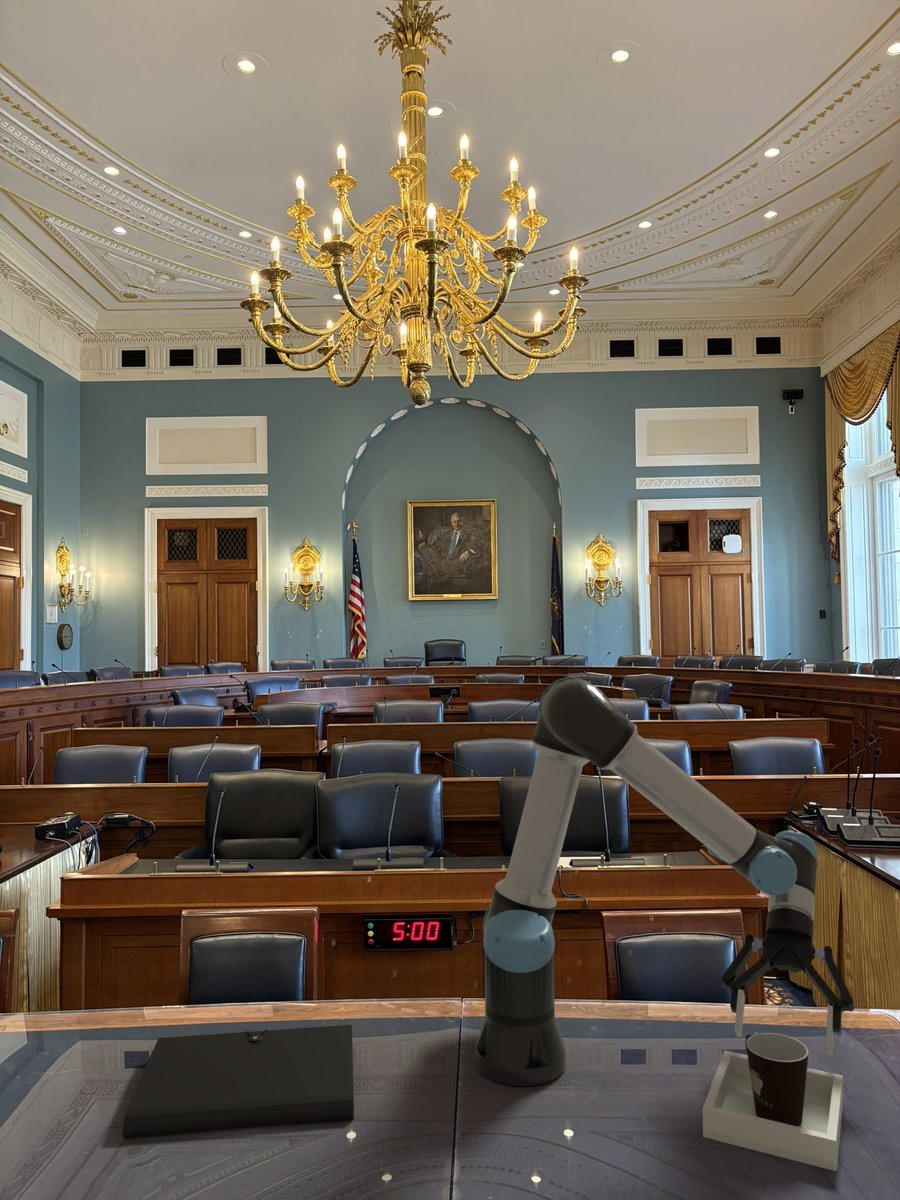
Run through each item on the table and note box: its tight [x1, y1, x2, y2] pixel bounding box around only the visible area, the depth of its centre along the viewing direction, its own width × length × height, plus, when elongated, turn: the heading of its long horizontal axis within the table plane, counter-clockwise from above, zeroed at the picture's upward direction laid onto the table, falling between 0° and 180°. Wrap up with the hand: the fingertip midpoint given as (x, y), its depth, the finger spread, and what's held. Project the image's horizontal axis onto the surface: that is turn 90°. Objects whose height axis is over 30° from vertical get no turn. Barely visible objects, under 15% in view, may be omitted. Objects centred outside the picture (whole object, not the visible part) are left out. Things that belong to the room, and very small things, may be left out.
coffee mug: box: [744, 1032, 809, 1127], centre depth 126 cm, size 12×9×10 cm
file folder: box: [122, 1024, 355, 1139], centre depth 137 cm, size 33×4×24 cm
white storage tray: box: [702, 1050, 844, 1172], centre depth 126 cm, size 17×18×4 cm
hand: (782, 1042), depth 135 cm, fingers open, 13 cm apart
